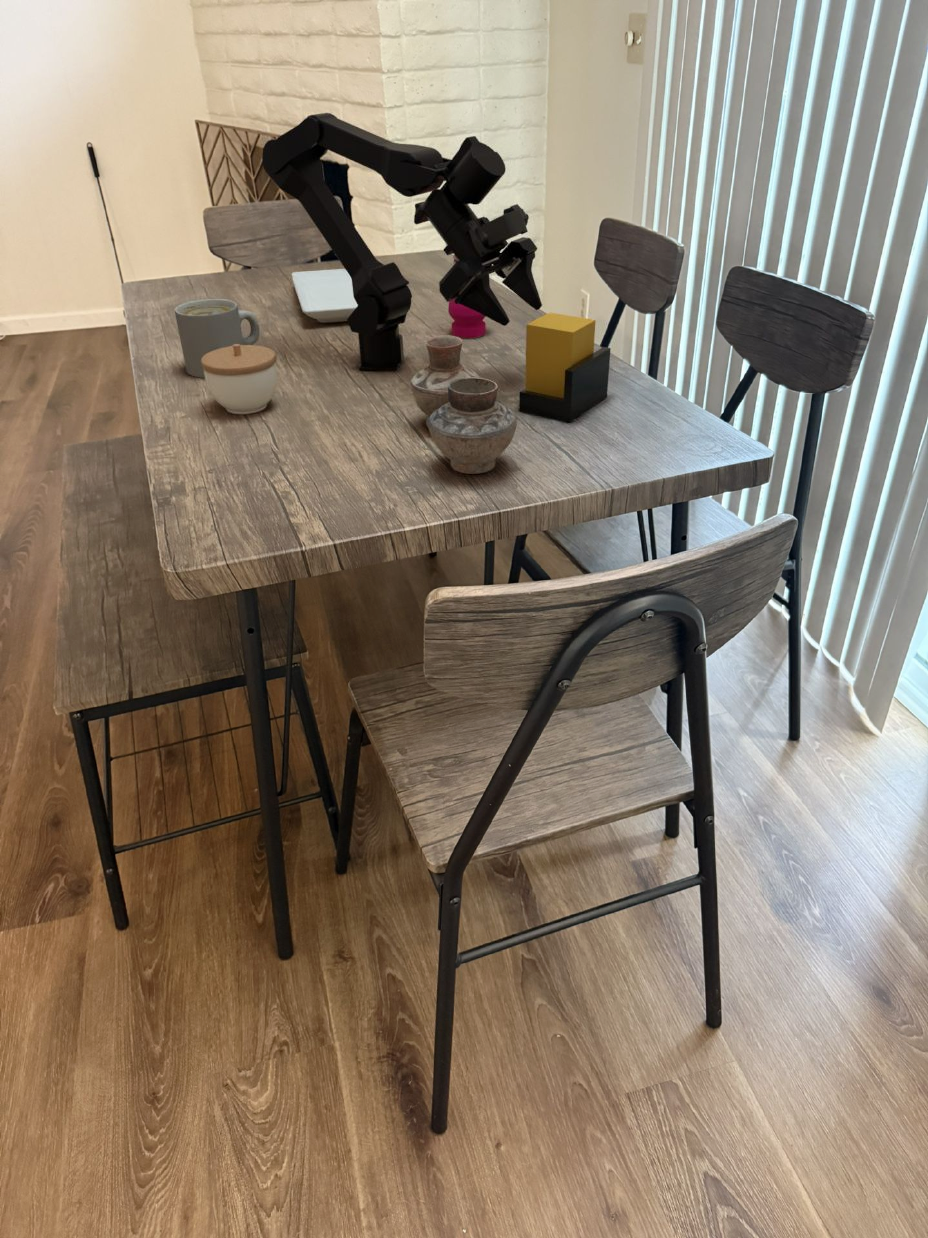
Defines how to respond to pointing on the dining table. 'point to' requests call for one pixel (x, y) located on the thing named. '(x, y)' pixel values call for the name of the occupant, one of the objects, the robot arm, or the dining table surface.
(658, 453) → the dining table surface
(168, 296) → the dining table surface
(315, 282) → the tray
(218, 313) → the coffee mug
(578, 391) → the rack
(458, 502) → the dining table surface
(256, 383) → the trinket box
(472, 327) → the pepper mill
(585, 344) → the storage box
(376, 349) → the robot arm
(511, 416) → the pottery
